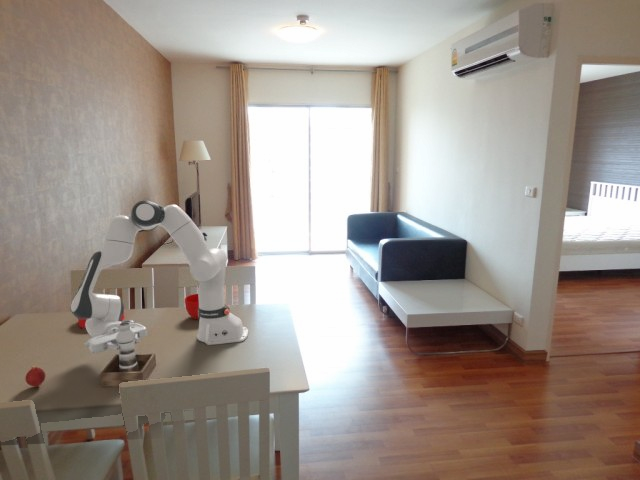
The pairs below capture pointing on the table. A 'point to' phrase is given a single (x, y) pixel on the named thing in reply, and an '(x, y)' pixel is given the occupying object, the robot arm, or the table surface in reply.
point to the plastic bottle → (126, 349)
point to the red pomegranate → (35, 376)
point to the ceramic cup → (192, 305)
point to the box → (114, 377)
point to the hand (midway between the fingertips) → (127, 344)
